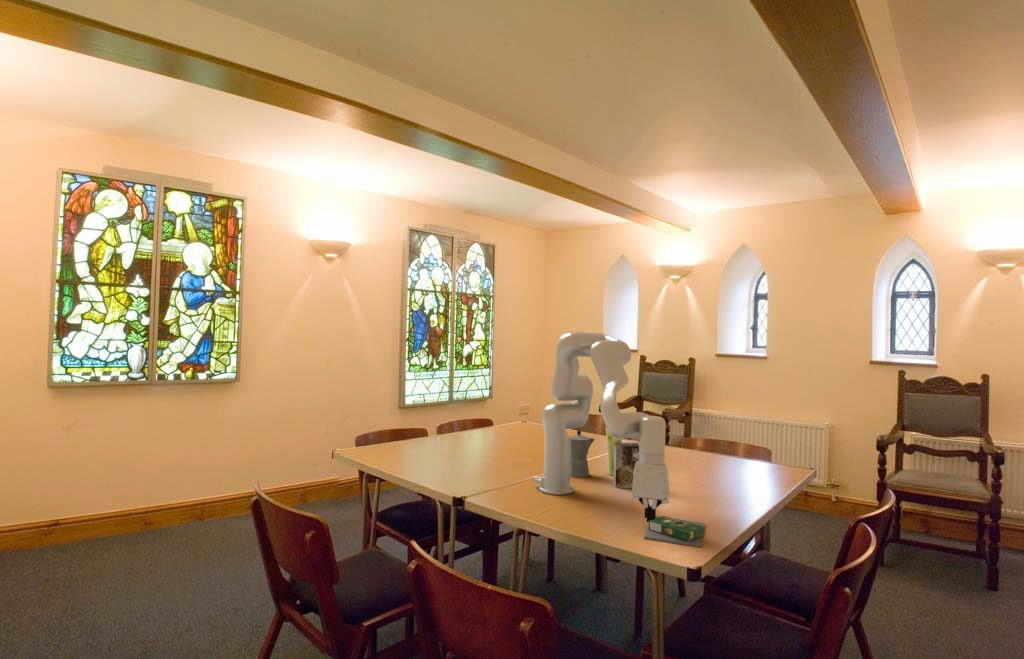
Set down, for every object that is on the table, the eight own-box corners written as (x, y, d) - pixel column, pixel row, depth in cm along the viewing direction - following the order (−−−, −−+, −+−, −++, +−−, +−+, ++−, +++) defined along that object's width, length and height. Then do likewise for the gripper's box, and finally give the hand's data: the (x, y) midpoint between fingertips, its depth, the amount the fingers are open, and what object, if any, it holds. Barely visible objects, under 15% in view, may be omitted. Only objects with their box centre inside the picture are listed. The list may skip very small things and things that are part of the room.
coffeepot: (591, 472, 228) (592, 429, 228) (596, 478, 218) (597, 432, 219) (554, 471, 227) (556, 428, 227) (558, 477, 217) (559, 432, 218)
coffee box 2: (647, 530, 157) (690, 542, 147) (647, 520, 157) (690, 531, 147) (662, 524, 162) (704, 536, 153) (662, 515, 162) (704, 526, 153)
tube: (611, 476, 221) (612, 428, 222) (604, 473, 226) (605, 426, 226) (622, 475, 224) (623, 427, 224) (615, 472, 228) (616, 425, 229)
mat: (643, 538, 151) (643, 536, 151) (653, 517, 170) (653, 515, 170) (701, 547, 146) (701, 545, 146) (704, 524, 164) (704, 522, 164)
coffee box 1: (637, 484, 210) (638, 442, 210) (639, 489, 203) (640, 445, 204) (613, 483, 211) (614, 441, 211) (614, 487, 204) (615, 444, 205)
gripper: (623, 458, 160) (622, 521, 160) (676, 464, 155) (675, 529, 154) (628, 453, 167) (626, 513, 167) (679, 458, 162) (677, 521, 161)
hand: (650, 521), depth 161 cm, fingers closed
